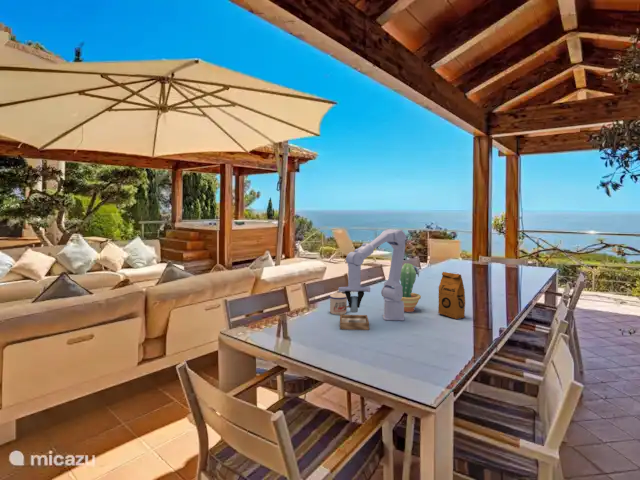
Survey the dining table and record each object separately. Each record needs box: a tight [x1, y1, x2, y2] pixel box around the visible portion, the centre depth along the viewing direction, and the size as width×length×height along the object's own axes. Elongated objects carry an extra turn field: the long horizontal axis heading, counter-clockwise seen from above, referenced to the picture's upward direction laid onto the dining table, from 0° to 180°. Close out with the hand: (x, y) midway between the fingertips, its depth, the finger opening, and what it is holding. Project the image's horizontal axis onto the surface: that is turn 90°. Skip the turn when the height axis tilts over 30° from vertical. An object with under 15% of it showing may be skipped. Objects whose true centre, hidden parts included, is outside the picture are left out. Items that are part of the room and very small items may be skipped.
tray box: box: [339, 314, 370, 331], centre depth 171 cm, size 13×13×3 cm
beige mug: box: [329, 289, 349, 316], centre depth 193 cm, size 12×9×12 cm
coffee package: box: [437, 271, 466, 320], centre depth 186 cm, size 10×12×22 cm
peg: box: [349, 295, 359, 313], centre depth 171 cm, size 3×3×7 cm
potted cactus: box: [399, 263, 422, 313], centre depth 198 cm, size 15×15×25 cm
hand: (354, 307), depth 171 cm, fingers closed on peg, 3 cm apart
